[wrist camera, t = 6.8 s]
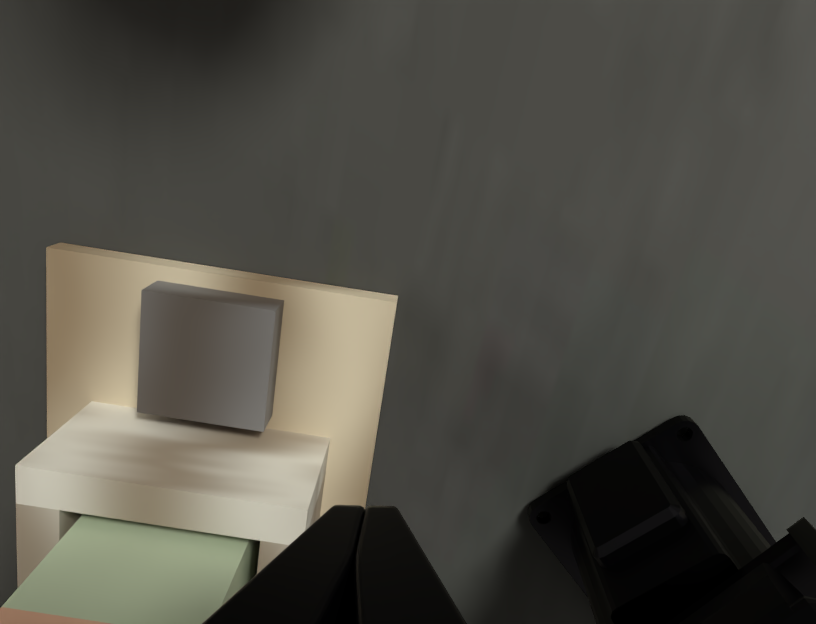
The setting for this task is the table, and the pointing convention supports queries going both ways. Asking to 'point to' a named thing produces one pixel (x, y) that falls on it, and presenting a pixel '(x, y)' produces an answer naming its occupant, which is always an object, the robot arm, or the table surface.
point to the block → (132, 575)
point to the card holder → (200, 400)
